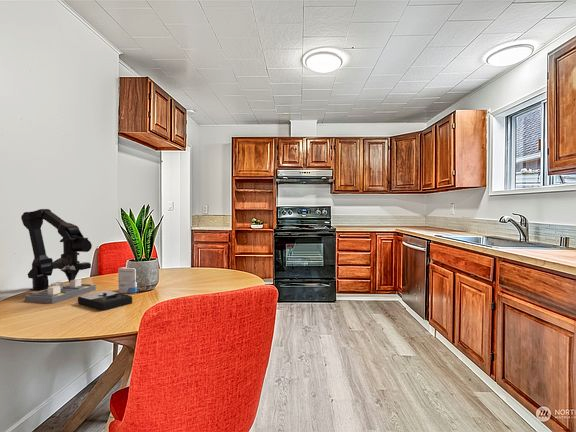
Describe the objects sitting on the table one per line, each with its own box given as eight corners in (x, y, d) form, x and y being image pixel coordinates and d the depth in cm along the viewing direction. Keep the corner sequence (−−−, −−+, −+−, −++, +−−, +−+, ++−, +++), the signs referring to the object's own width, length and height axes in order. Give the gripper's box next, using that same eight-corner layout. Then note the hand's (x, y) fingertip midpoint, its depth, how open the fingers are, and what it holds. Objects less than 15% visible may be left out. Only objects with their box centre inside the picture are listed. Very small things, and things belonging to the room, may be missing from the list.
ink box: (140, 290, 169) (140, 266, 169) (134, 293, 164) (134, 268, 164) (124, 290, 170) (123, 266, 170) (118, 292, 165) (117, 268, 165)
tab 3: (70, 286, 166) (69, 280, 166) (76, 285, 169) (76, 279, 169) (75, 287, 165) (75, 281, 165) (81, 285, 169) (81, 279, 169)
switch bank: (24, 301, 151) (24, 294, 151) (70, 288, 174) (70, 282, 174) (52, 303, 147) (52, 296, 147) (95, 290, 171) (95, 284, 170)
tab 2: (47, 294, 152) (47, 287, 152) (55, 292, 155) (54, 285, 155) (53, 294, 151) (53, 288, 151) (60, 292, 154) (60, 286, 154)
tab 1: (50, 289, 160) (50, 283, 160) (57, 288, 163) (57, 281, 163) (56, 290, 159) (56, 283, 159) (62, 288, 163) (62, 282, 163)
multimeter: (102, 312, 136) (102, 299, 136) (77, 305, 146) (77, 293, 146) (132, 304, 147) (132, 292, 147) (107, 298, 157) (107, 287, 157)
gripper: (39, 253, 162) (40, 286, 162) (72, 254, 157) (73, 287, 158) (60, 250, 173) (61, 281, 173) (91, 251, 168) (92, 282, 169)
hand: (71, 283), depth 168 cm, fingers closed
